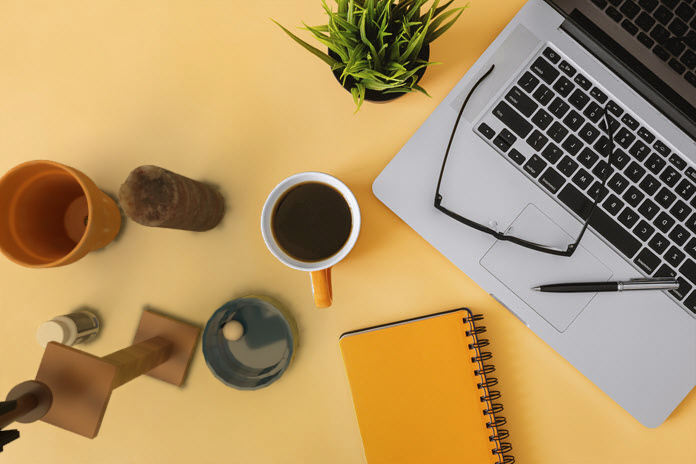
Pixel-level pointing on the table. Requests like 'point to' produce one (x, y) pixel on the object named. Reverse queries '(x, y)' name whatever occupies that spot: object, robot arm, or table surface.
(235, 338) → the ball
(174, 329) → the stand
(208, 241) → the table surface
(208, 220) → the brown textured cylinder
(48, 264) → the flower pot
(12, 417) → the stick
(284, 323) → the bowl
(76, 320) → the pill bottle
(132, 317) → the table surface
